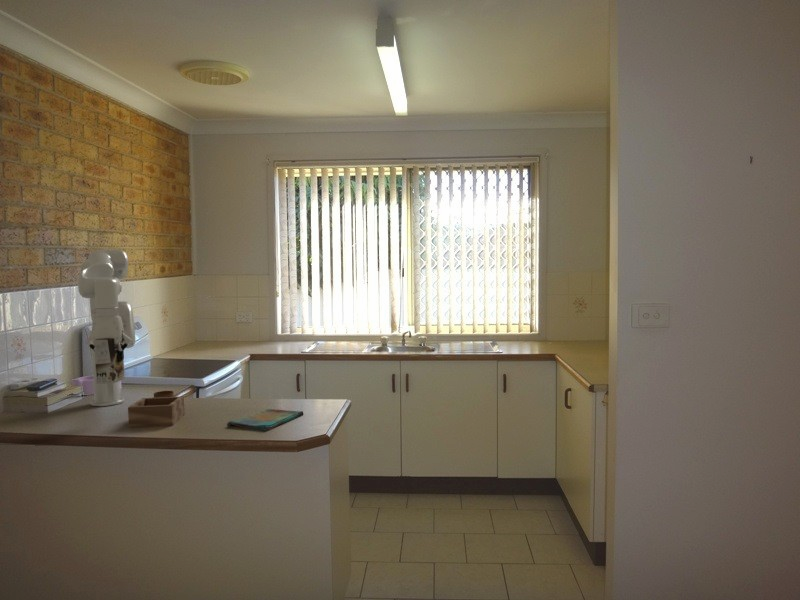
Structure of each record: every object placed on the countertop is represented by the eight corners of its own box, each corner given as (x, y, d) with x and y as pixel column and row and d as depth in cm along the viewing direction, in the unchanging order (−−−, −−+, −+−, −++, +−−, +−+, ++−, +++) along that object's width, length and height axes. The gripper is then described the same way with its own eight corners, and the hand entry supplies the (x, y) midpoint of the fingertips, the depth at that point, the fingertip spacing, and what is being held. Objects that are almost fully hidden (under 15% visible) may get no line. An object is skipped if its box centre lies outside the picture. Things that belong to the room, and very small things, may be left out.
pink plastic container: (112, 386, 292) (111, 372, 292) (126, 389, 285) (125, 374, 284) (69, 394, 276) (68, 379, 276) (82, 397, 269) (81, 381, 268)
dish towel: (225, 428, 212) (224, 421, 212) (266, 412, 234) (266, 406, 233) (266, 433, 205) (265, 425, 205) (305, 416, 226) (304, 409, 226)
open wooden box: (143, 416, 230) (142, 398, 230) (184, 414, 232) (183, 396, 231) (129, 427, 216) (127, 407, 215) (172, 425, 217) (171, 405, 216)
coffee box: (113, 384, 219) (111, 339, 217) (95, 384, 219) (93, 339, 217) (125, 378, 228) (123, 335, 226) (108, 378, 228) (106, 335, 226)
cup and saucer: (169, 412, 237) (168, 396, 237) (141, 411, 240) (140, 395, 239) (186, 404, 249) (185, 389, 249) (159, 404, 251) (158, 389, 251)
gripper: (77, 314, 217) (80, 364, 218) (128, 313, 218) (130, 363, 219) (86, 312, 224) (89, 360, 226) (135, 311, 225) (138, 359, 227)
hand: (109, 361), depth 223 cm, fingers closed on coffee box, 6 cm apart
